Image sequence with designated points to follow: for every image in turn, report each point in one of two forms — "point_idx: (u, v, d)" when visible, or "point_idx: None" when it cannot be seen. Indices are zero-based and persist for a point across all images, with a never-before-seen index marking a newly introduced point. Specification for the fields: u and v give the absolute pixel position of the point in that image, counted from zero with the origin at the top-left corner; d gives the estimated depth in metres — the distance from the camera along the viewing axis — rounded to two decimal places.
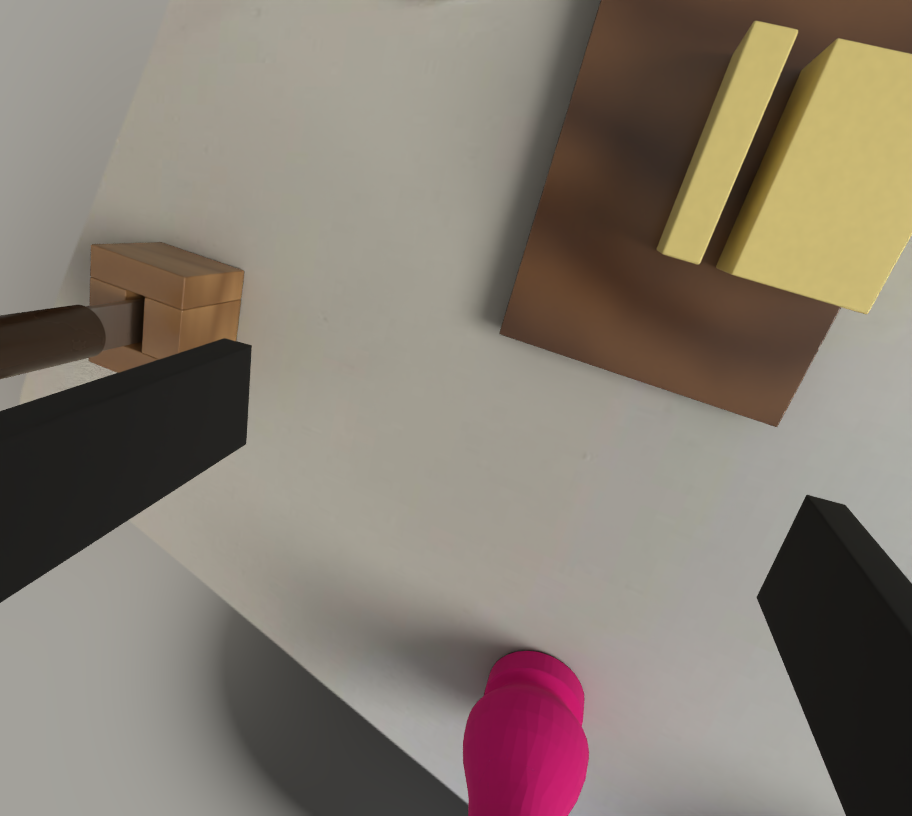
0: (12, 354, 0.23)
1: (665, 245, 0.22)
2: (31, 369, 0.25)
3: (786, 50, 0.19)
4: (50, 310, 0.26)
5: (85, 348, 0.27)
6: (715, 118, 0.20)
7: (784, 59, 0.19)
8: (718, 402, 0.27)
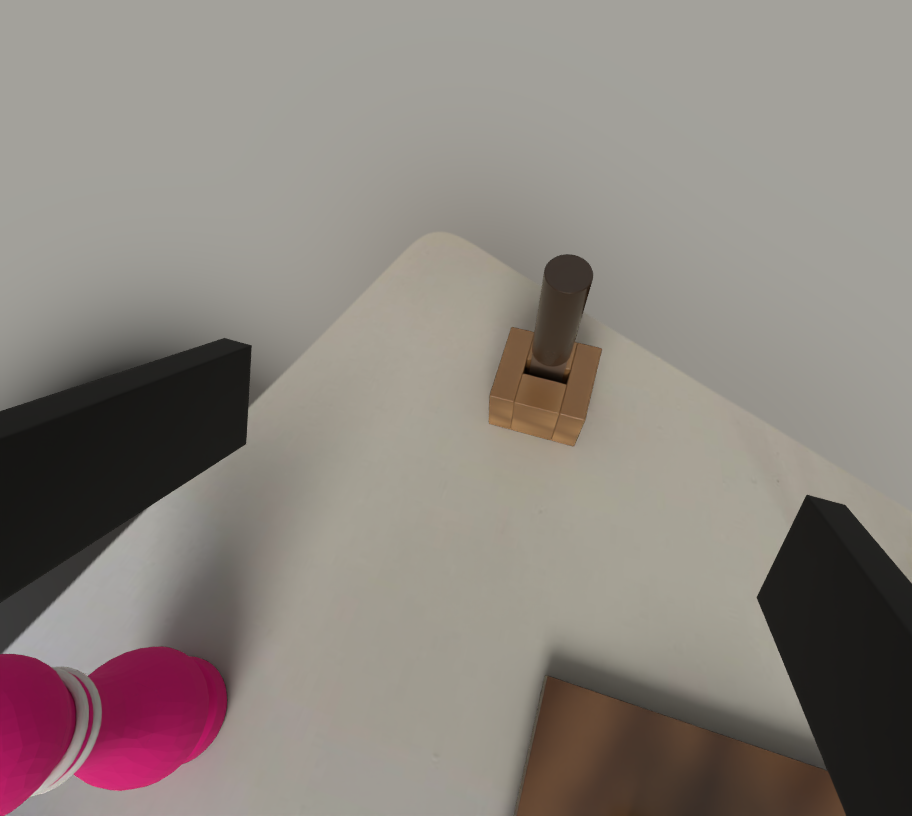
0: (559, 328, 0.32)
1: None
2: (541, 329, 0.33)
3: None
4: None
5: (544, 356, 0.36)
6: None
7: None
8: None
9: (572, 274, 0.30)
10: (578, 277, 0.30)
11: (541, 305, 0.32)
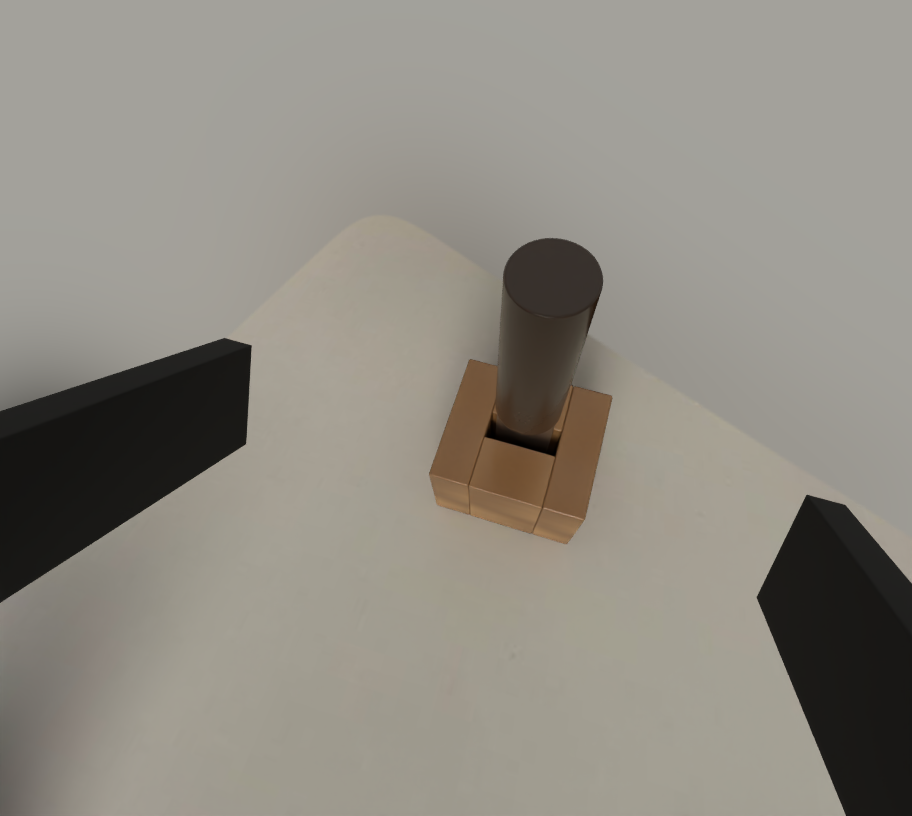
0: (536, 379, 0.17)
1: None
2: (505, 378, 0.18)
3: None
4: (567, 392, 0.20)
5: (515, 420, 0.20)
6: None
7: None
8: None
9: (560, 279, 0.14)
10: (572, 284, 0.14)
11: (502, 337, 0.17)
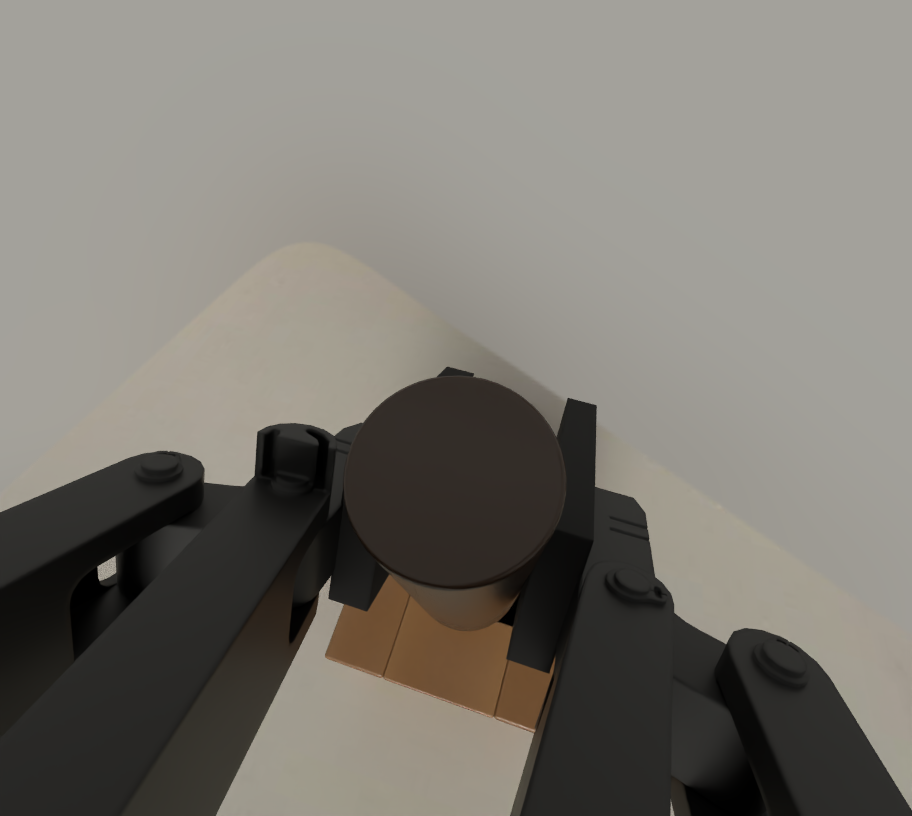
0: (450, 614, 0.09)
1: None
2: None
3: None
4: None
5: (437, 619, 0.12)
6: None
7: None
8: None
9: (469, 483, 0.06)
10: (497, 497, 0.06)
11: None
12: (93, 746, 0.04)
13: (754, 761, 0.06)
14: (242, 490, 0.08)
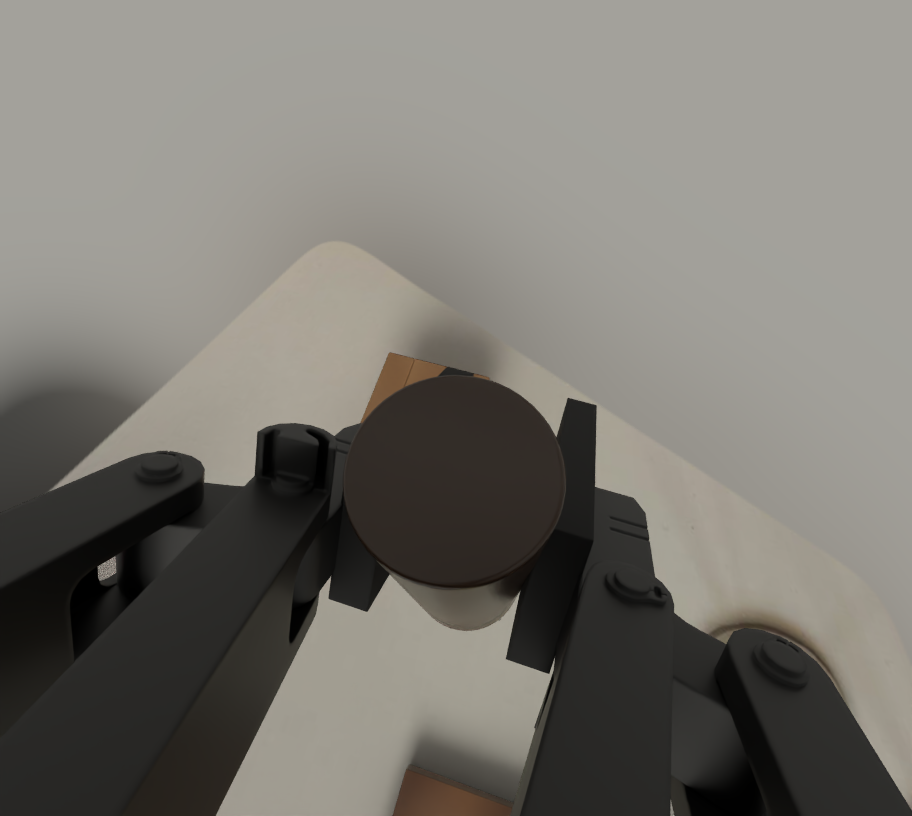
0: (450, 614, 0.09)
1: None
2: None
3: None
4: None
5: (437, 619, 0.12)
6: None
7: None
8: None
9: (468, 483, 0.06)
10: (496, 497, 0.06)
11: None
12: (93, 746, 0.04)
13: (754, 761, 0.06)
14: (242, 490, 0.08)
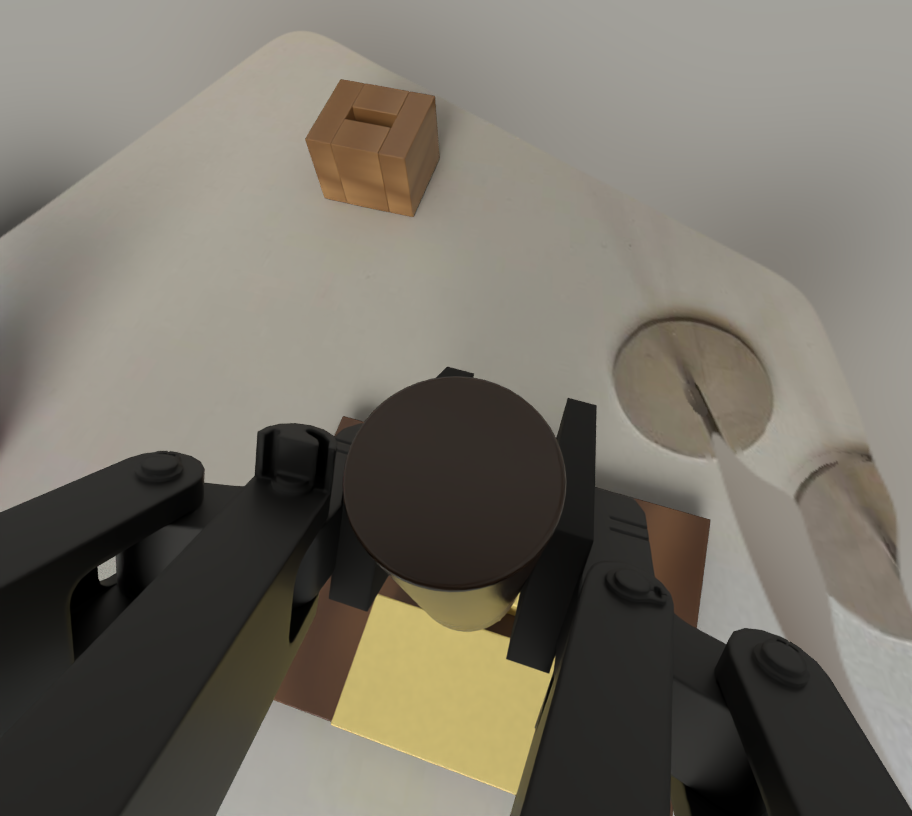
0: (450, 615, 0.09)
1: None
2: None
3: None
4: None
5: (437, 620, 0.12)
6: None
7: None
8: None
9: (469, 484, 0.06)
10: (496, 498, 0.06)
11: None
12: (93, 746, 0.04)
13: (754, 761, 0.06)
14: (242, 490, 0.08)
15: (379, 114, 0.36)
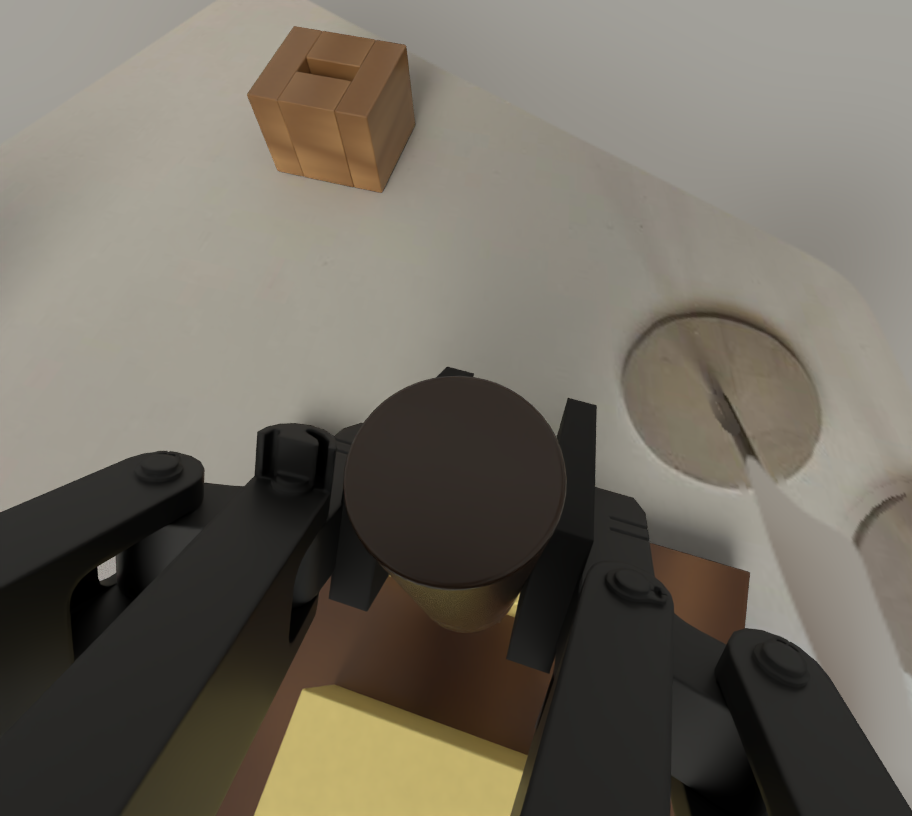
0: (450, 615, 0.09)
1: None
2: None
3: None
4: None
5: (437, 621, 0.12)
6: None
7: None
8: None
9: (469, 483, 0.06)
10: (497, 497, 0.06)
11: None
12: (93, 746, 0.04)
13: (754, 761, 0.06)
14: (242, 490, 0.08)
15: (338, 66, 0.30)
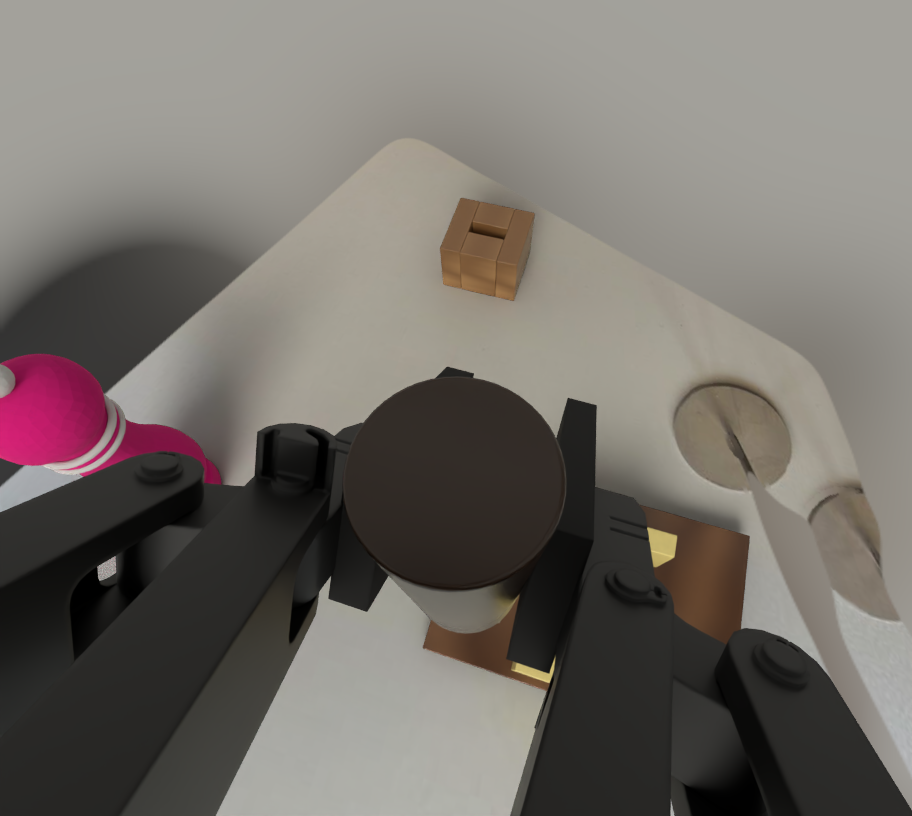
0: (450, 616, 0.09)
1: None
2: None
3: (664, 552, 0.35)
4: None
5: (437, 621, 0.12)
6: None
7: (660, 552, 0.36)
8: None
9: (469, 484, 0.06)
10: (496, 498, 0.06)
11: None
12: (93, 746, 0.04)
13: (754, 761, 0.06)
14: (242, 490, 0.08)
15: (493, 227, 0.48)
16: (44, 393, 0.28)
